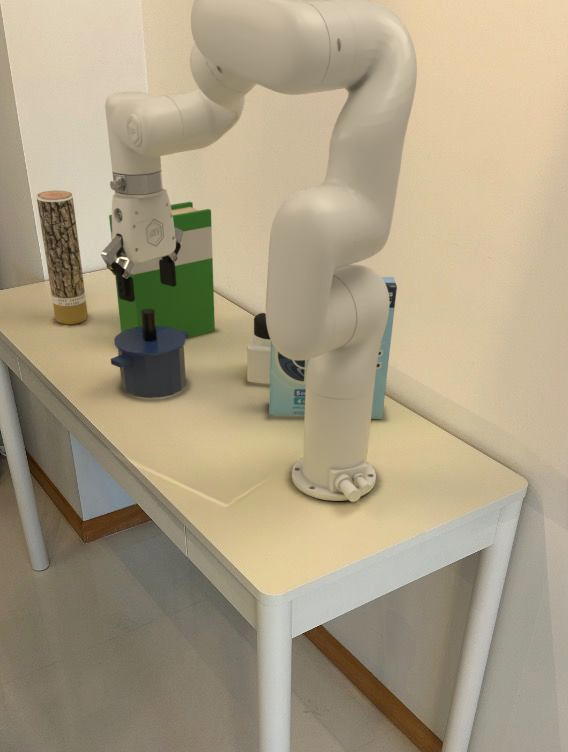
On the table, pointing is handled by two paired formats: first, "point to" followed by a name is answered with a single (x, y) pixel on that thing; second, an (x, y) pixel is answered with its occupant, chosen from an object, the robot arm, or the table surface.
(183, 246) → the hardback book
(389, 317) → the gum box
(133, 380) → the pot
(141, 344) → the lid
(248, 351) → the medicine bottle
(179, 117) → the robot arm
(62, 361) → the table surface
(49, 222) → the paper tube
